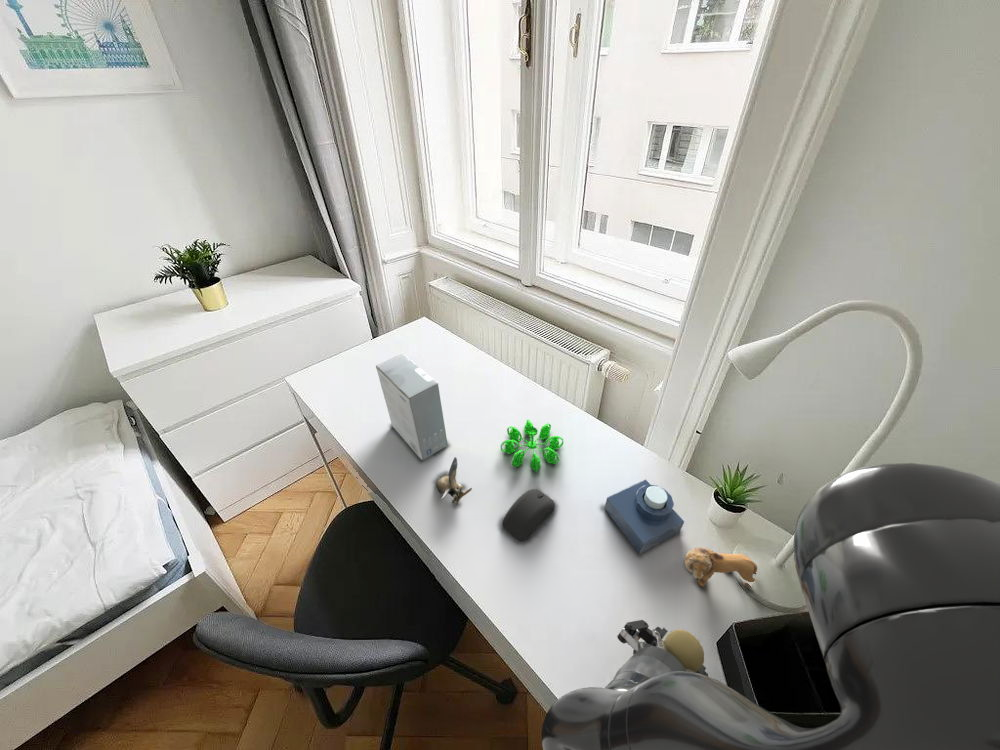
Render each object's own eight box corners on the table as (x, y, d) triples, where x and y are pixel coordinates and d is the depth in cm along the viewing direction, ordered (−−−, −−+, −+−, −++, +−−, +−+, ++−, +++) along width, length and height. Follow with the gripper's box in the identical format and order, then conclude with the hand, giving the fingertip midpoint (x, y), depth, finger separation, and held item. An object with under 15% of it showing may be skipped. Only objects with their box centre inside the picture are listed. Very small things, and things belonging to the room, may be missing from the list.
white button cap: (669, 504, 79) (672, 498, 78) (653, 512, 78) (655, 506, 77) (655, 489, 82) (657, 482, 81) (639, 496, 81) (641, 490, 80)
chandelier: (487, 454, 97) (486, 434, 93) (525, 419, 106) (526, 399, 102) (538, 487, 90) (540, 467, 85) (575, 446, 98) (578, 427, 94)
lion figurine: (682, 596, 72) (697, 572, 66) (670, 566, 76) (683, 541, 70) (763, 587, 72) (784, 563, 67) (746, 558, 76) (765, 533, 71)
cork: (692, 663, 64) (714, 637, 57) (684, 705, 60) (706, 683, 53) (653, 641, 66) (669, 614, 59) (643, 680, 62) (659, 655, 55)
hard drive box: (449, 445, 100) (439, 383, 87) (422, 461, 96) (408, 400, 83) (416, 412, 109) (403, 352, 96) (390, 425, 105) (373, 365, 93)
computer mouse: (557, 507, 86) (558, 496, 83) (522, 544, 80) (522, 534, 77) (534, 489, 89) (535, 478, 87) (499, 524, 83) (498, 513, 80)
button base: (681, 531, 81) (689, 514, 77) (639, 554, 78) (645, 538, 74) (643, 489, 89) (649, 472, 85) (604, 508, 85) (608, 491, 81)
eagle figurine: (481, 491, 88) (463, 458, 93) (464, 486, 82) (447, 451, 87) (454, 512, 89) (438, 478, 94) (436, 509, 83) (420, 473, 88)
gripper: (730, 732, 42) (743, 676, 56) (617, 617, 51) (652, 593, 64) (688, 785, 43) (712, 718, 57) (585, 663, 52) (626, 630, 65)
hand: (680, 651), depth 60 cm, fingers open, 5 cm apart
